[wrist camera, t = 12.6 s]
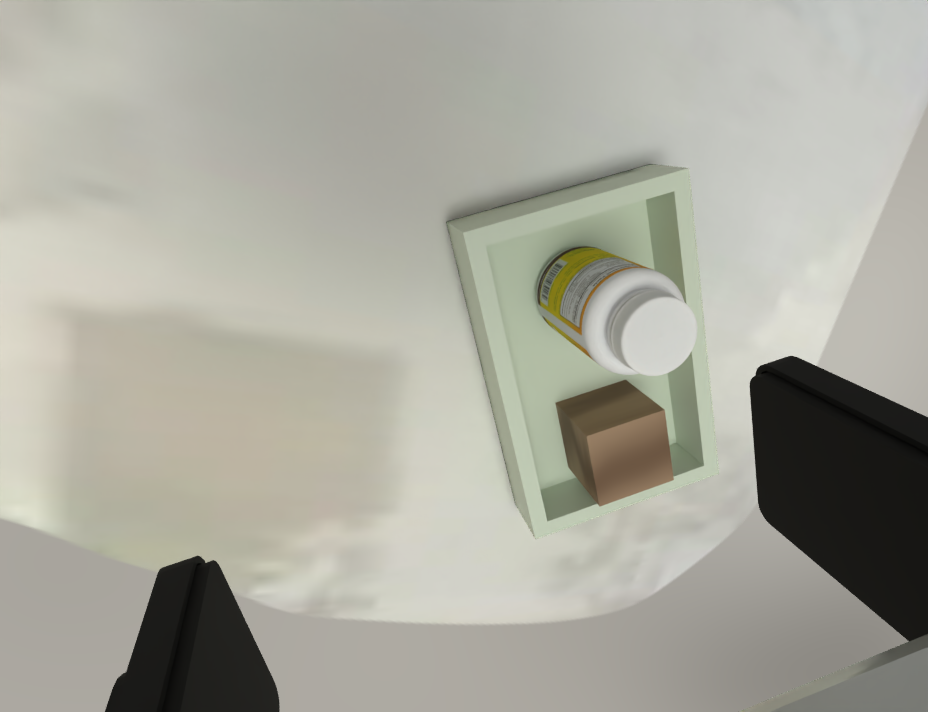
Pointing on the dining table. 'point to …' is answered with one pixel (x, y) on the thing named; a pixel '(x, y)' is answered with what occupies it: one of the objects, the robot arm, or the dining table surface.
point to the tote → (555, 358)
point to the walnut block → (615, 441)
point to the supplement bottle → (616, 311)
